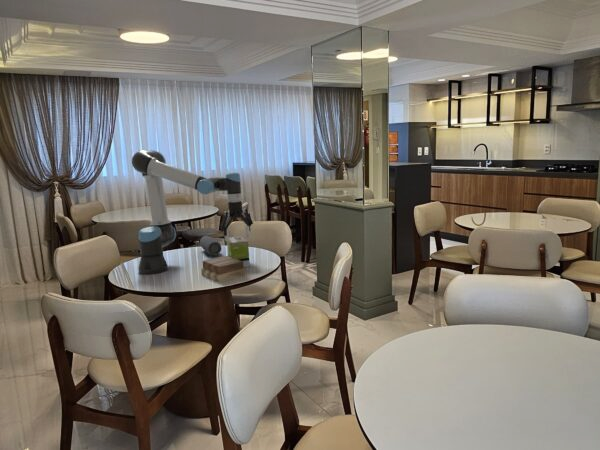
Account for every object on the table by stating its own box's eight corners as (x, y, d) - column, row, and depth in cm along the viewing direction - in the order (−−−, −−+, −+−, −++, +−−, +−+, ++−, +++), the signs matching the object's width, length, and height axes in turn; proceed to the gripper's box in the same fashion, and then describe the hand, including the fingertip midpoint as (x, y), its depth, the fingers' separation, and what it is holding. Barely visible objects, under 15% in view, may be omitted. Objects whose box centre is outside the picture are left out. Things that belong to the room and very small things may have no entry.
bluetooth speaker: (223, 256, 264) (222, 240, 262) (208, 258, 260) (206, 242, 259) (213, 249, 284) (212, 234, 283) (199, 251, 281) (198, 235, 279)
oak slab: (201, 275, 225) (201, 268, 224) (227, 270, 234) (226, 262, 234) (219, 283, 211) (219, 275, 211) (245, 276, 221) (244, 268, 220)
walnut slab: (203, 268, 224) (202, 260, 224) (226, 263, 233) (226, 255, 232) (219, 274, 211) (218, 266, 211) (243, 269, 220) (243, 261, 219)
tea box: (227, 262, 248) (226, 237, 246) (245, 260, 251) (243, 235, 249) (231, 269, 234) (230, 242, 231) (250, 266, 237) (248, 240, 234)
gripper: (218, 204, 226) (221, 244, 229) (257, 199, 242) (260, 236, 245) (211, 203, 231) (214, 242, 235) (250, 198, 247) (252, 234, 251)
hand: (237, 239), depth 240 cm, fingers open, 13 cm apart
